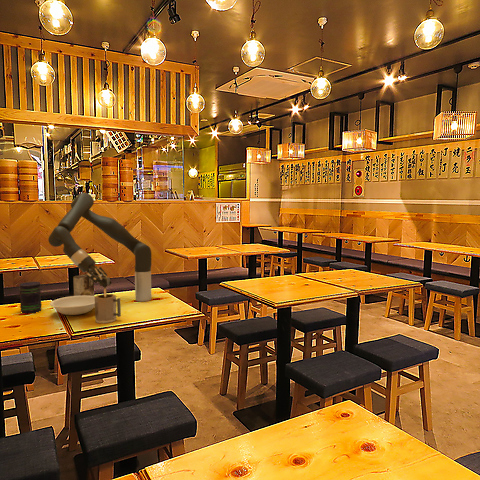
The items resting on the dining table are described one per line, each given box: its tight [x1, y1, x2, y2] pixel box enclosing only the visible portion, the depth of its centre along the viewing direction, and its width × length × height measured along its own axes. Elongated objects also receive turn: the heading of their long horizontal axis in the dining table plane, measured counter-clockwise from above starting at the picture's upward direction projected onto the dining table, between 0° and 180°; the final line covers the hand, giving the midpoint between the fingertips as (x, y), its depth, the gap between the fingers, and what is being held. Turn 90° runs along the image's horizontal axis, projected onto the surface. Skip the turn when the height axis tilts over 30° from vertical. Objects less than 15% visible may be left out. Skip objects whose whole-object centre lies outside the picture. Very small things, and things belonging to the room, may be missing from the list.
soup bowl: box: [49, 295, 97, 316], centre depth 201 cm, size 24×24×7 cm
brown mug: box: [94, 293, 122, 324], centre depth 189 cm, size 10×12×12 cm
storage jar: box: [19, 281, 42, 314], centre depth 203 cm, size 10×10×15 cm
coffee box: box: [72, 273, 95, 296], centre depth 219 cm, size 9×6×16 cm
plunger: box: [99, 276, 111, 298], centre depth 188 cm, size 6×6×18 cm
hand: (108, 285), depth 187 cm, fingers open, 4 cm apart
